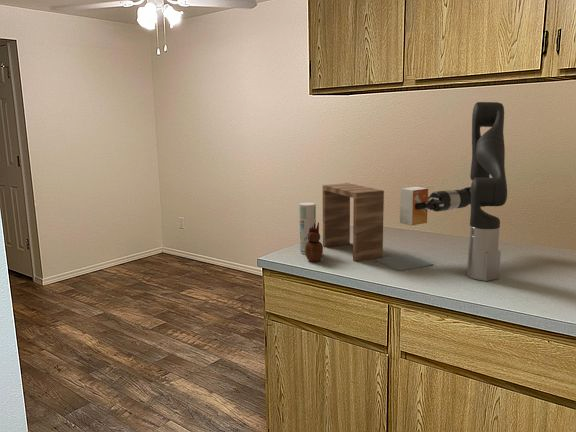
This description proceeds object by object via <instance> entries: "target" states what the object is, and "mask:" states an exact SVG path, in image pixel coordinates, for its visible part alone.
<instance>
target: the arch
mask: <svg viewBox="0 0 576 432" xmlns="http://www.w3.org/2000/svg"><path fill="white" fill-rule="evenodd" d="M351 198H352V199H353V219H352V220H353V221H352V222H353V227H352V228H353V230H352V231H353V233H352V235H353V236H352V240H353V241H352V243H353V244H352V261H353V262H355V263H357V262H364V261H369V260H375V259H380V258H384V257H383V256H384V253H383V252H384V249H383V247H384V211H385V210H384V208H385V204H384V202H385V191H384V190H382V189H377V188H372V187H368V186H364V185H359V184H354V183H349V182H344V183H334V184H333V183H331V184H322V246H323V248H330V247H336V246H345V245H350V244H351V243H350V242H351V239H350V238H351Z"/></svg>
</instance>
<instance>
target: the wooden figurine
mask: <svg viewBox="0 0 576 432" xmlns="http://www.w3.org/2000/svg"><path fill="white" fill-rule="evenodd" d="M307 238H308V240H309V241H308V242H307V243H306V245H305V254H306V255H305V254H304V255H305V257H306V259H307V260H308V261H309V262H313V263H316V262H319V261H320V260H321V259H322V257H323V254H324V247H323V243H322V242H321V241H320V240H321V234H320V223H319V221H318V222H317V223H316V226H315V223H314V228H313V226H312V228H310V229H309V233H308V236H307Z"/></svg>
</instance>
